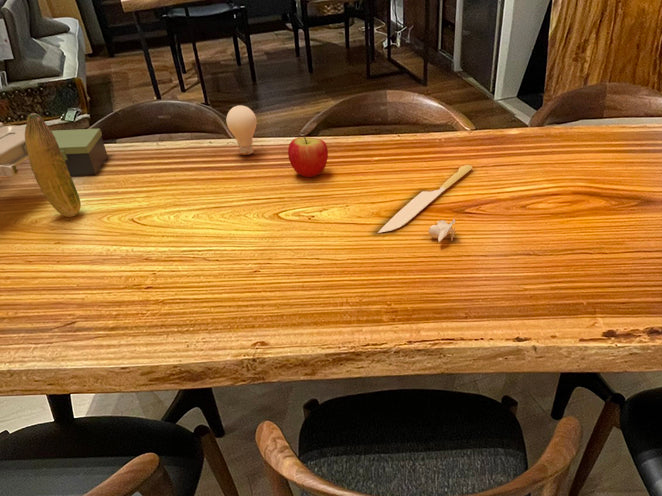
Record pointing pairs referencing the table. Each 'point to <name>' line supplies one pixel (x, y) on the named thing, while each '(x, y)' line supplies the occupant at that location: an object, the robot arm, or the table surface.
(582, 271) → the table surface
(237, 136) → the light bulb
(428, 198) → the knife
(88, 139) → the block
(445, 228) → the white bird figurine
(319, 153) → the apple
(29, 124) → the vegetable
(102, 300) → the table surface
